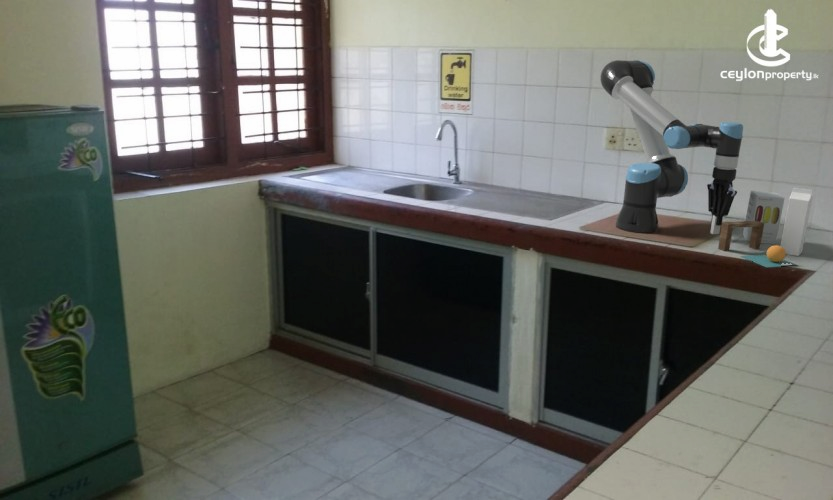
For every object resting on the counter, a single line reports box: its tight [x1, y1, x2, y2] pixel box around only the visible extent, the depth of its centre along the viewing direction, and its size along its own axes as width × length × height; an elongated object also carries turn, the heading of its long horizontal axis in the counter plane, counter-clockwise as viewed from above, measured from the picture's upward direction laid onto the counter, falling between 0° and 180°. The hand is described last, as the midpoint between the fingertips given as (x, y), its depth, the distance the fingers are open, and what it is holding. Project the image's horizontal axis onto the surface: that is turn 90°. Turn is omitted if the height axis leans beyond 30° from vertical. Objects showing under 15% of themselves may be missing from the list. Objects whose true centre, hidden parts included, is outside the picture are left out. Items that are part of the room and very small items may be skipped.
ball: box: [766, 244, 787, 262], centre depth 239 cm, size 6×6×6 cm
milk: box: [779, 187, 813, 257], centre depth 248 cm, size 6×6×22 cm
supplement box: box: [742, 190, 785, 245], centre depth 264 cm, size 10×9×17 cm
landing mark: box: [740, 253, 797, 268], centre depth 241 cm, size 12×12×1 cm
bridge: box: [717, 220, 764, 252], centre depth 252 cm, size 14×3×9 cm, turn 107°
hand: (714, 233), depth 265 cm, fingers closed
